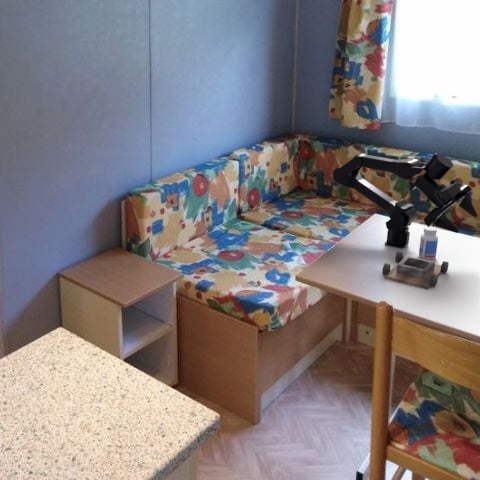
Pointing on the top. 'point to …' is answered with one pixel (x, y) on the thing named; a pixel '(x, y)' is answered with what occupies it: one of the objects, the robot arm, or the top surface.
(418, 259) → the chassis
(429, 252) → the pill bottle
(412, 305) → the top surface
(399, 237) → the robot arm
